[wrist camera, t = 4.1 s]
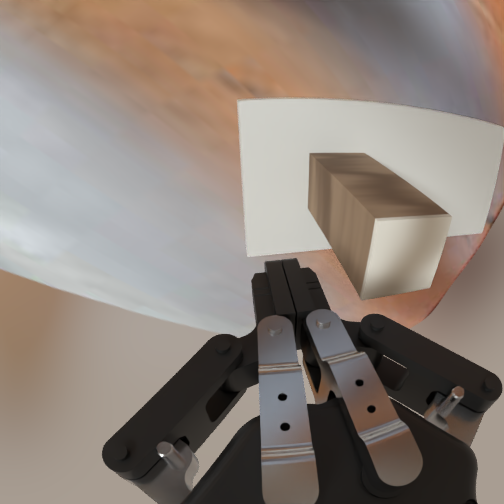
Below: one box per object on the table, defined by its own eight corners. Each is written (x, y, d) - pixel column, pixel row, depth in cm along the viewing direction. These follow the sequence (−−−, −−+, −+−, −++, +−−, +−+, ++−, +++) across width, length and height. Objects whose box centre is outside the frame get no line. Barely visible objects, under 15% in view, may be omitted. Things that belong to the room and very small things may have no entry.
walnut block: (307, 208, 26) (361, 300, 16) (309, 153, 23) (377, 221, 13) (359, 205, 27) (429, 287, 17) (364, 152, 24) (452, 216, 14)
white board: (245, 248, 30) (247, 256, 28) (236, 99, 22) (238, 100, 21) (475, 227, 32) (482, 232, 30) (497, 124, 24) (505, 127, 23)
